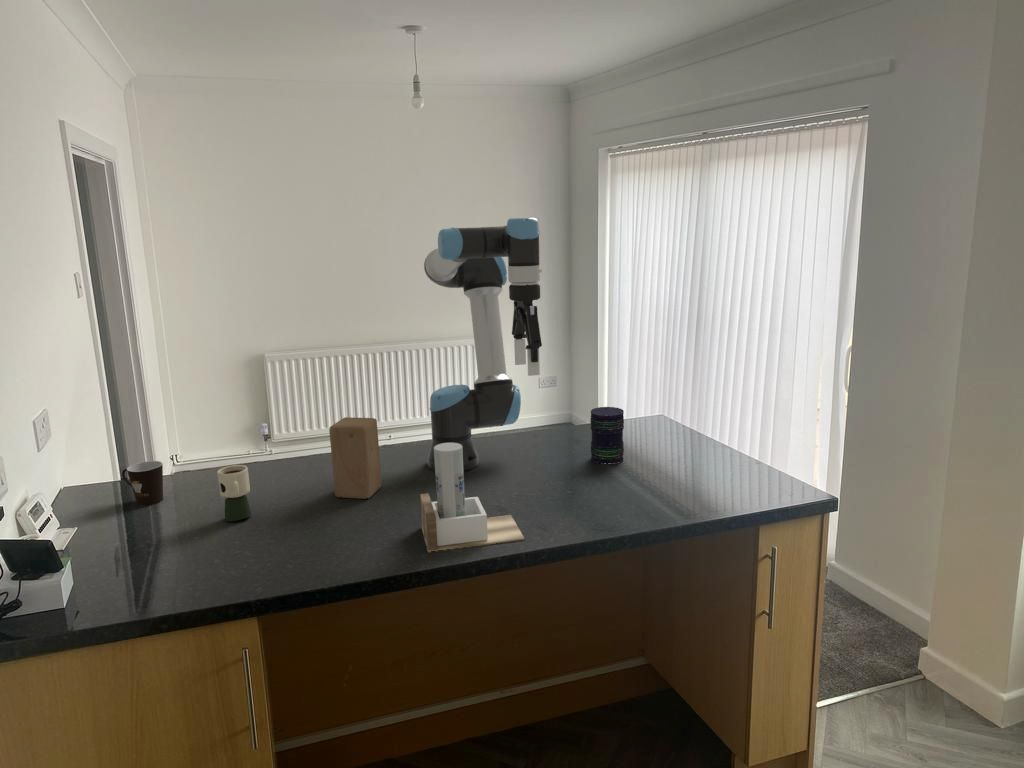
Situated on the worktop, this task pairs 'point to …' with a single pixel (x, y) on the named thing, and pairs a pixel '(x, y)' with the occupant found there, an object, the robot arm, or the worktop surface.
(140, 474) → the coffee mug
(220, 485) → the character mug
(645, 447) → the worktop surface
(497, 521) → the brown l-shaped stand
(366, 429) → the wooden block
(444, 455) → the spray can
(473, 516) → the sleeve
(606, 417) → the storage jar
